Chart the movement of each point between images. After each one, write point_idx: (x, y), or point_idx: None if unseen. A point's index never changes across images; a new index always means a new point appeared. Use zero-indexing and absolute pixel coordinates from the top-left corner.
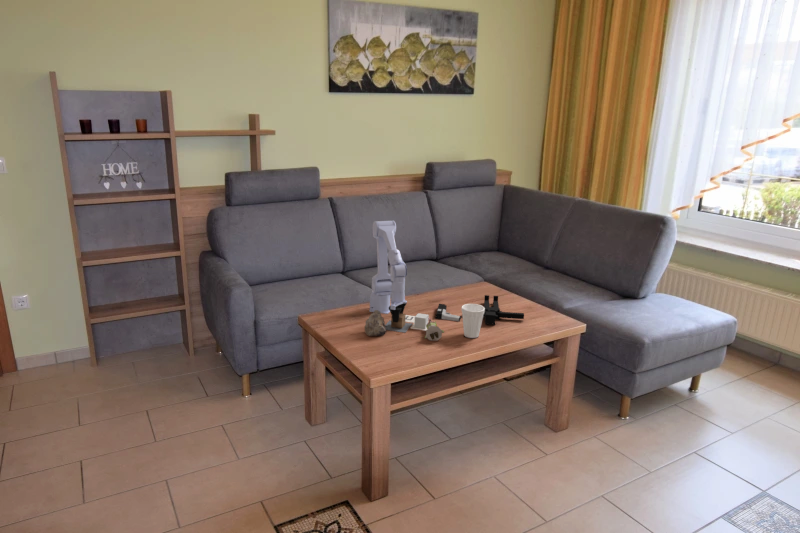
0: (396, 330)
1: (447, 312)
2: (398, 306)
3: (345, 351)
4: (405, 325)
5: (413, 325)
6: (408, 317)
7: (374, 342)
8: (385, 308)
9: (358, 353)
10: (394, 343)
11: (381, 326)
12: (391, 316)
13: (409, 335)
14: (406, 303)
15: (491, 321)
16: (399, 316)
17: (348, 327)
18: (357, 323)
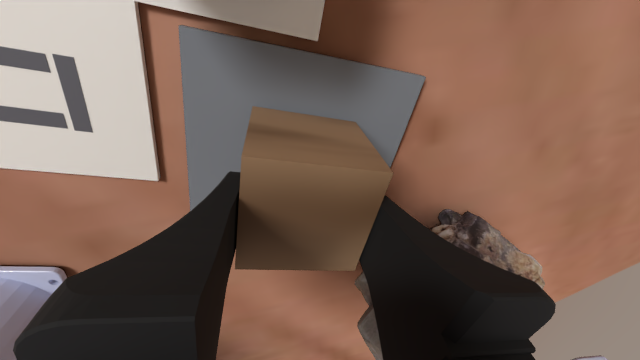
0: (382, 154)
1: None
2: (217, 322)
3: (574, 287)
4: (259, 99)
5: (226, 9)
6: (7, 99)
7: (526, 226)
8: (17, 316)
9: (613, 251)
10: (579, 128)
11: (539, 271)
12: (353, 267)
13: (468, 30)
14: (111, 295)
15: None
16: (350, 207)
17: (343, 340)
18: (289, 332)
